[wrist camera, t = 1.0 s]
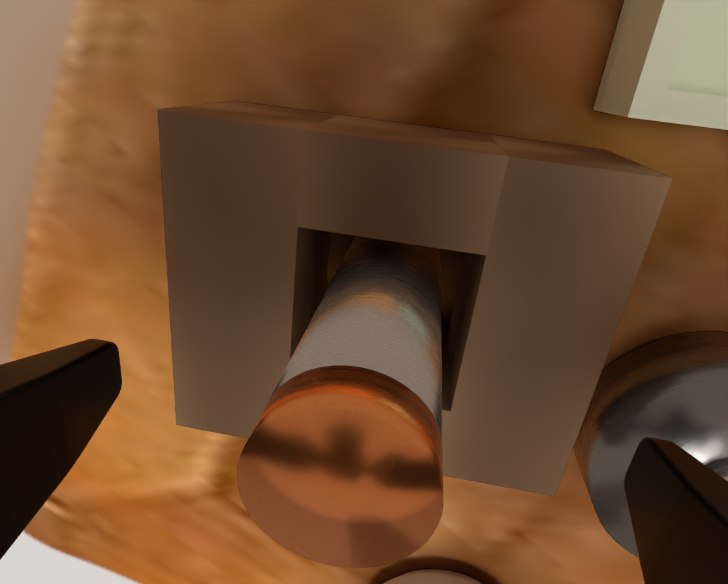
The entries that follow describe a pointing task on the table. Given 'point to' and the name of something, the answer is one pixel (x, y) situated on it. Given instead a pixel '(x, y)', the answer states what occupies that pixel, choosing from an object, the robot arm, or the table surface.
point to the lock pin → (357, 417)
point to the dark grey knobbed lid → (654, 417)
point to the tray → (669, 63)
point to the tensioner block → (412, 226)
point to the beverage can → (432, 578)
